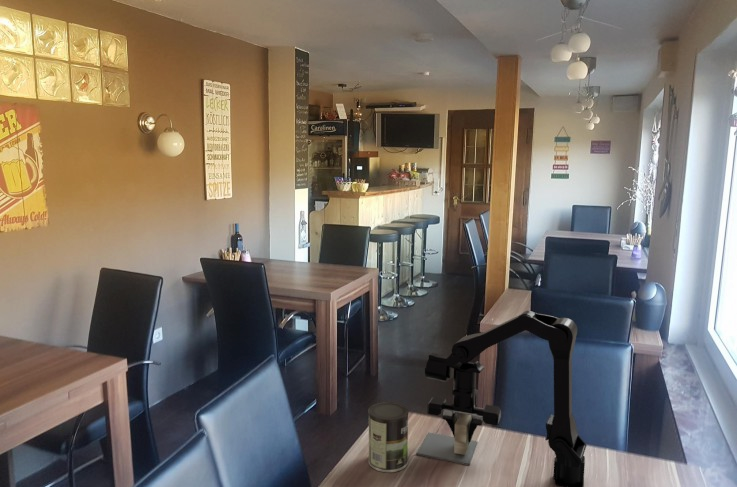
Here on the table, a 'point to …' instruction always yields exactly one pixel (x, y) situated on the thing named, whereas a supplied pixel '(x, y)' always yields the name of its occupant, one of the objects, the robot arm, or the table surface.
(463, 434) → the beech board
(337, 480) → the table surface
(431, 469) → the table surface
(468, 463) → the slate mat
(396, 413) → the coffee can
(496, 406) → the robot arm
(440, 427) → the table surface
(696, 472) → the table surface
